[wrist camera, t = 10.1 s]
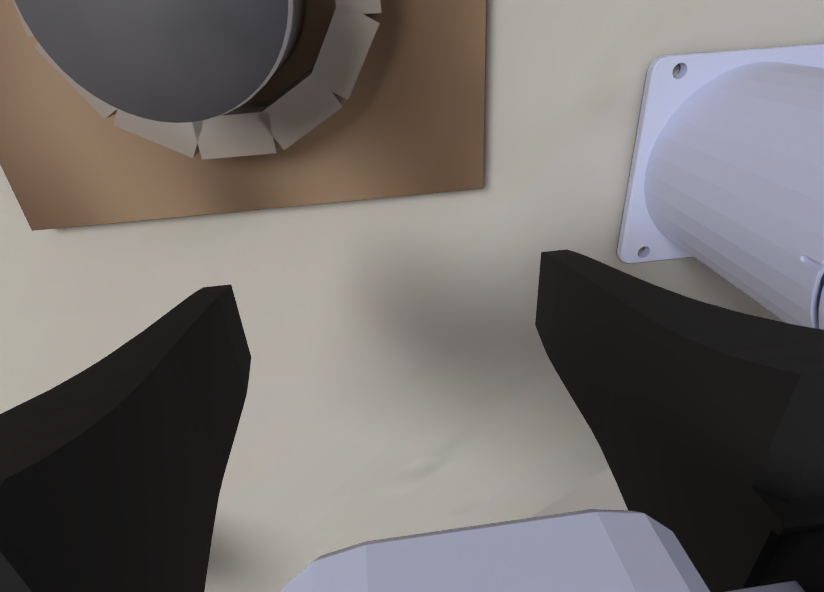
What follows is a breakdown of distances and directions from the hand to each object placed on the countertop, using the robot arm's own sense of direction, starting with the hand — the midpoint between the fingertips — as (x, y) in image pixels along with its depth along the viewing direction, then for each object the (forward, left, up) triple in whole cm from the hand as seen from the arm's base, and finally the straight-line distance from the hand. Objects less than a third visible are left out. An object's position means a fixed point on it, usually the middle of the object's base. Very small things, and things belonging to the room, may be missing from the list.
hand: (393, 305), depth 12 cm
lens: (+4, -7, -8) cm, 11 cm away
